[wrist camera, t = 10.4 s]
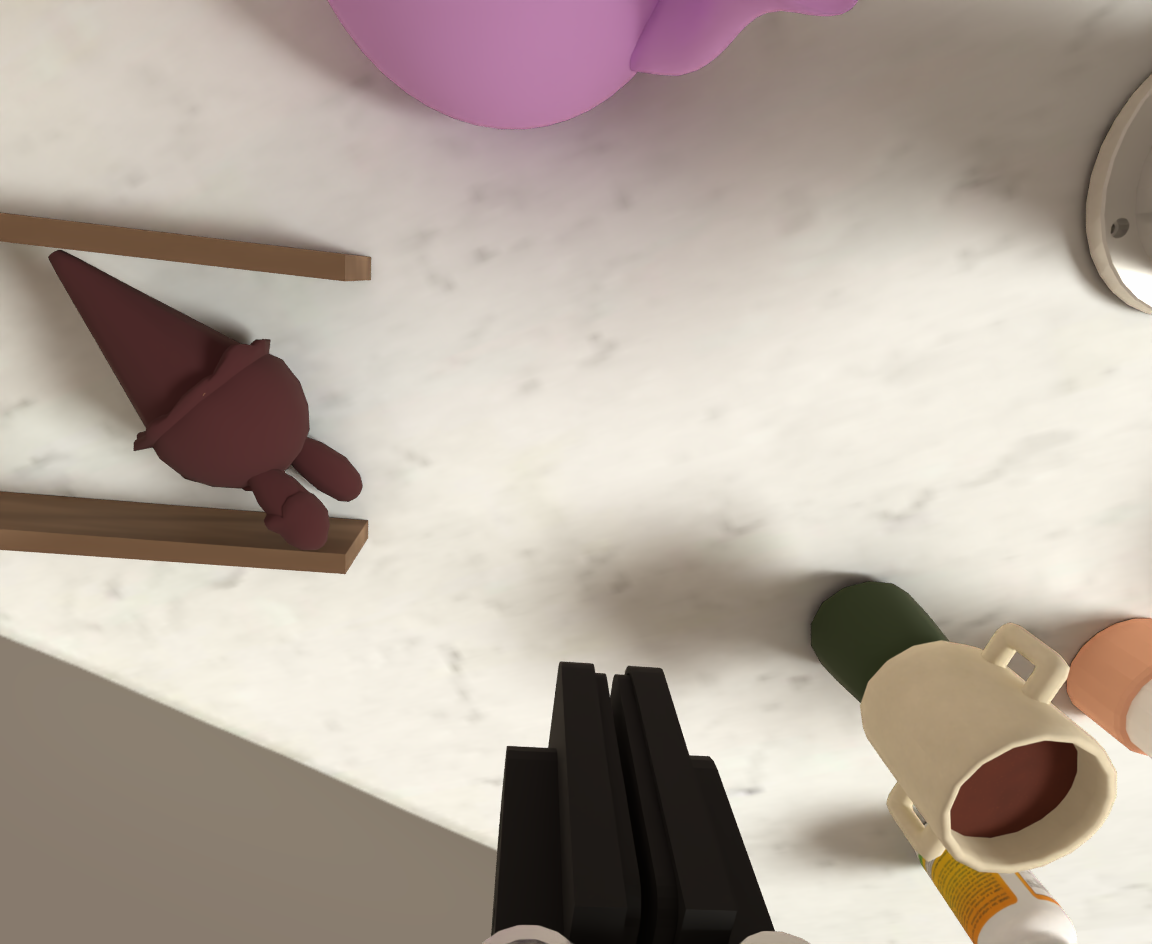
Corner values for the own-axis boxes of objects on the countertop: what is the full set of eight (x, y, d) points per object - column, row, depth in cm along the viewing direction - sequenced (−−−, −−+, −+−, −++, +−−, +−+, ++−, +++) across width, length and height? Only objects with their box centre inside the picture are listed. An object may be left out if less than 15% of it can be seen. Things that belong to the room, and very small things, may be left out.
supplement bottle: (908, 870, 42) (1013, 1037, 33) (915, 811, 40) (1027, 970, 31) (984, 860, 42) (1109, 1024, 33) (993, 801, 41) (1128, 955, 31)
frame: (-140, 196, 26) (-257, 182, 22) (370, 257, 28) (345, 254, 24) (-71, 504, 30) (-159, 538, 26) (367, 538, 32) (345, 574, 28)
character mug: (864, 710, 38) (1026, 924, 25) (763, 681, 36) (881, 890, 24) (957, 560, 35) (1190, 718, 22) (849, 522, 33) (1034, 667, 21)
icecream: (-78, 337, 22) (256, 602, 27) (17, 203, 19) (366, 528, 24) (75, 287, 28) (324, 513, 33) (164, 180, 25) (419, 446, 30)
